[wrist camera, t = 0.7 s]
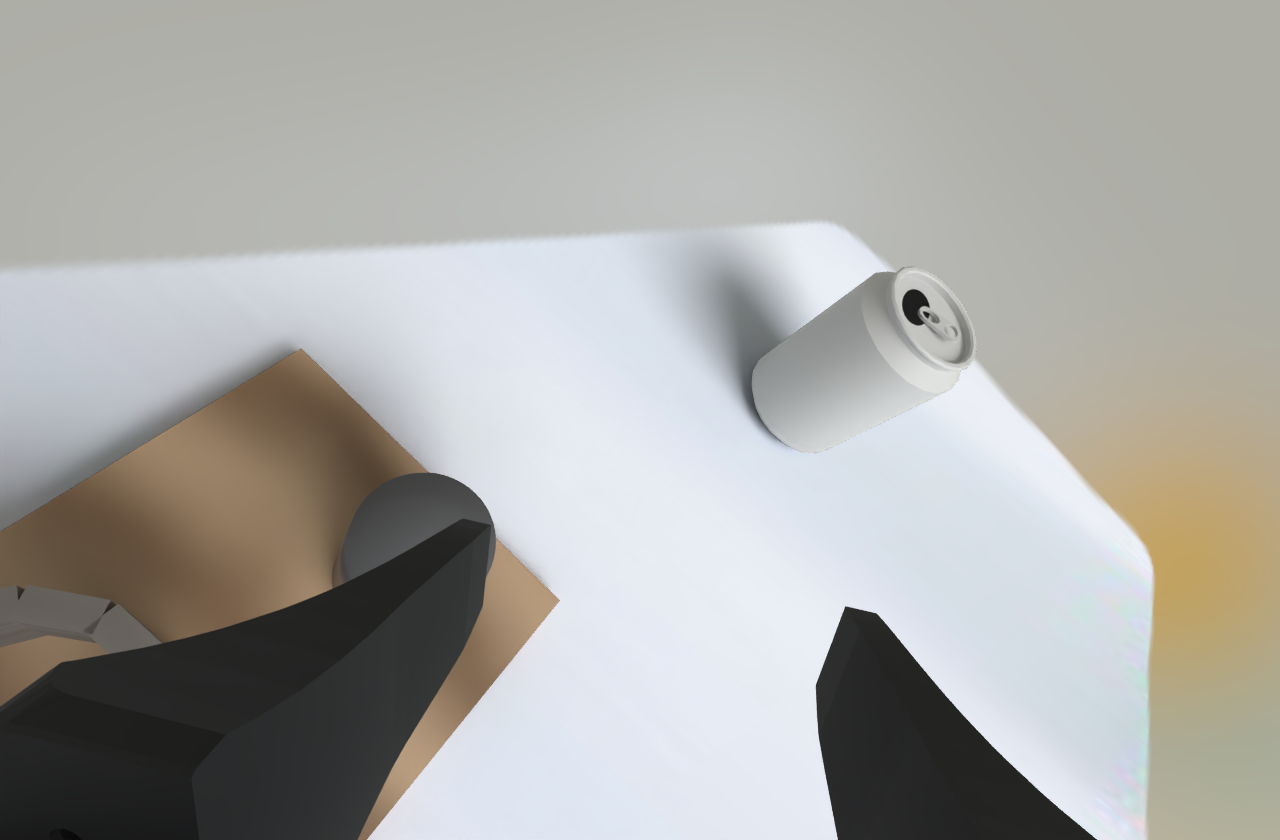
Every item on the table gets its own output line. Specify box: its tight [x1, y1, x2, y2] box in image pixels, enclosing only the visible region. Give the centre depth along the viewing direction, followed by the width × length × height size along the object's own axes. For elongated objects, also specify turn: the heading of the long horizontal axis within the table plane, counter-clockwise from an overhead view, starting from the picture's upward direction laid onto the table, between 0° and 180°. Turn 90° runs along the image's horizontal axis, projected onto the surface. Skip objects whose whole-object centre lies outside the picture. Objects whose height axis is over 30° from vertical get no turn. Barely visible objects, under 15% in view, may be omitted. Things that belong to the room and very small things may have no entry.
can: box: [751, 267, 976, 454], centre depth 38 cm, size 8×8×12 cm
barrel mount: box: [0, 349, 560, 840], centre depth 21 cm, size 20×16×4 cm
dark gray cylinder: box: [332, 473, 496, 588], centre depth 24 cm, size 5×5×6 cm
